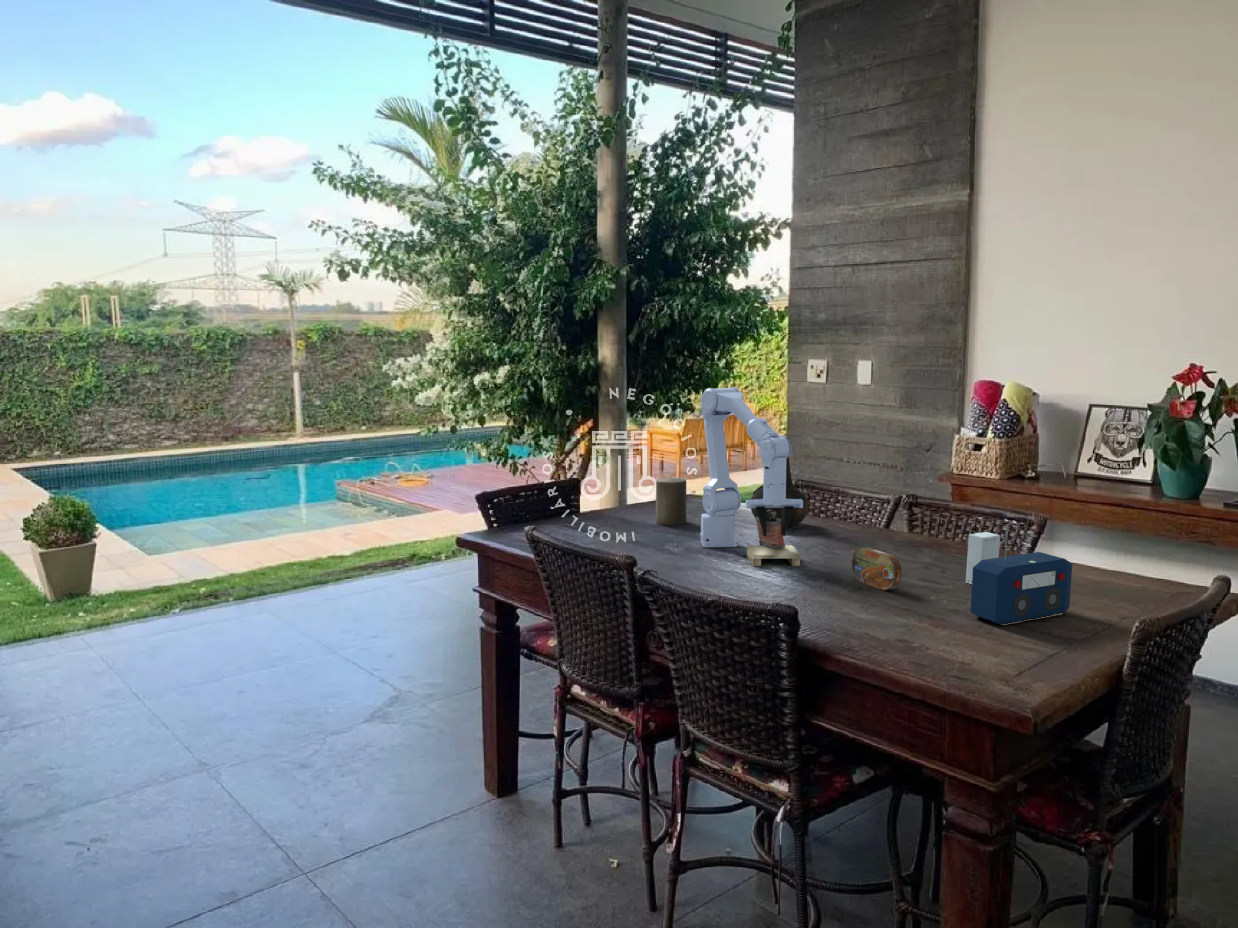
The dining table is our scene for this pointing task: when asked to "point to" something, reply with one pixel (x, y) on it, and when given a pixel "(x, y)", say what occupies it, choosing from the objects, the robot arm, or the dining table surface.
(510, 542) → the dining table surface
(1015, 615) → the radio
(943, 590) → the dining table surface
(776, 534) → the lighter
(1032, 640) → the dining table surface
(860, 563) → the tin
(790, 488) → the dark brown vase
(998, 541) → the skincare box
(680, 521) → the pillar candle
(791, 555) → the shelf stand
